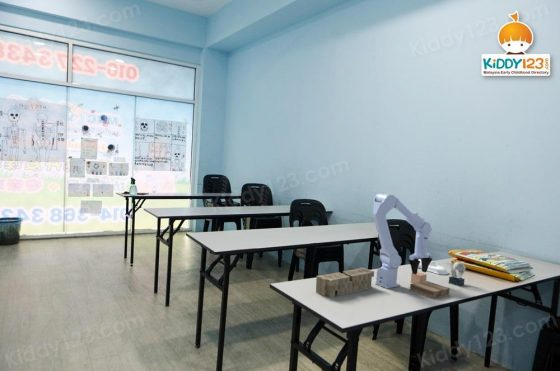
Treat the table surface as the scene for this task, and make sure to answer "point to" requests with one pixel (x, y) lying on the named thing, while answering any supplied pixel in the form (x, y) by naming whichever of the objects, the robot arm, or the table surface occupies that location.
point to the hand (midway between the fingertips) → (419, 272)
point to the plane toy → (434, 268)
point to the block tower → (344, 282)
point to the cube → (418, 277)
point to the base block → (429, 289)
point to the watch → (456, 278)
